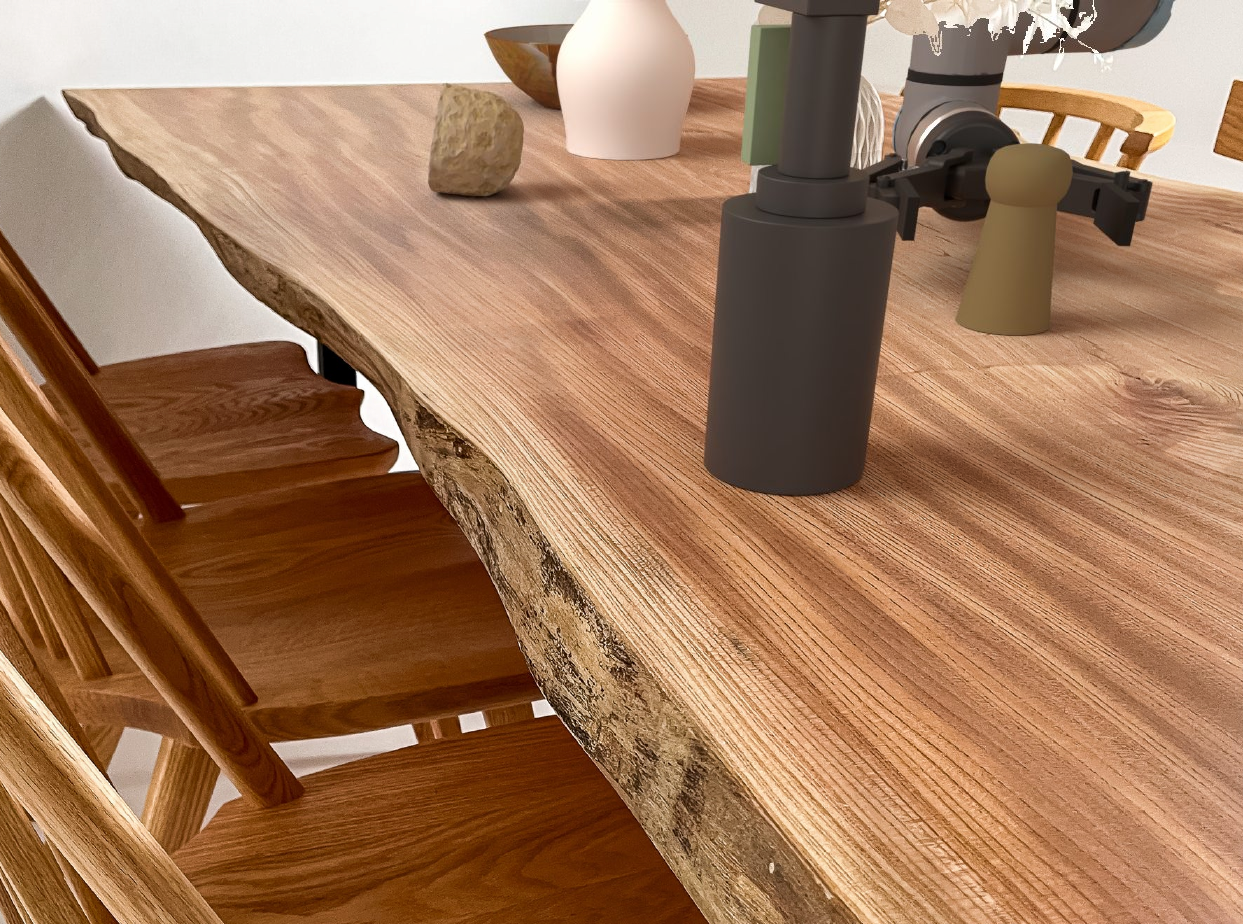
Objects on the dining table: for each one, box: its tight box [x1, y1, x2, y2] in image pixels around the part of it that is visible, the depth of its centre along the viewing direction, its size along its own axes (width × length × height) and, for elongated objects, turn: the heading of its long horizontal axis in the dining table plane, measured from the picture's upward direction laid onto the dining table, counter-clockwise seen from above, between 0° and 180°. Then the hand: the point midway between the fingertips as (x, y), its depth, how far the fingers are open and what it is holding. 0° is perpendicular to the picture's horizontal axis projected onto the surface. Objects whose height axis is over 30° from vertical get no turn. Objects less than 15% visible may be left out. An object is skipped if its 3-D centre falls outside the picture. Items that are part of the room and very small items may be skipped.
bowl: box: [483, 23, 689, 110], centre depth 174 cm, size 25×25×8 cm
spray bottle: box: [703, 0, 899, 496], centre depth 65 cm, size 10×8×24 cm
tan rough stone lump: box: [427, 82, 525, 197], centre depth 126 cm, size 10×10×10 cm
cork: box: [955, 142, 1073, 336], centre depth 90 cm, size 6×6×11 cm
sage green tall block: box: [740, 23, 791, 167], centre depth 67 cm, size 1×3×6 cm, turn 100°
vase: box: [557, 0, 696, 161], centre depth 143 cm, size 14×14×20 cm
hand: (1019, 221), depth 90 cm, fingers open, 13 cm apart
